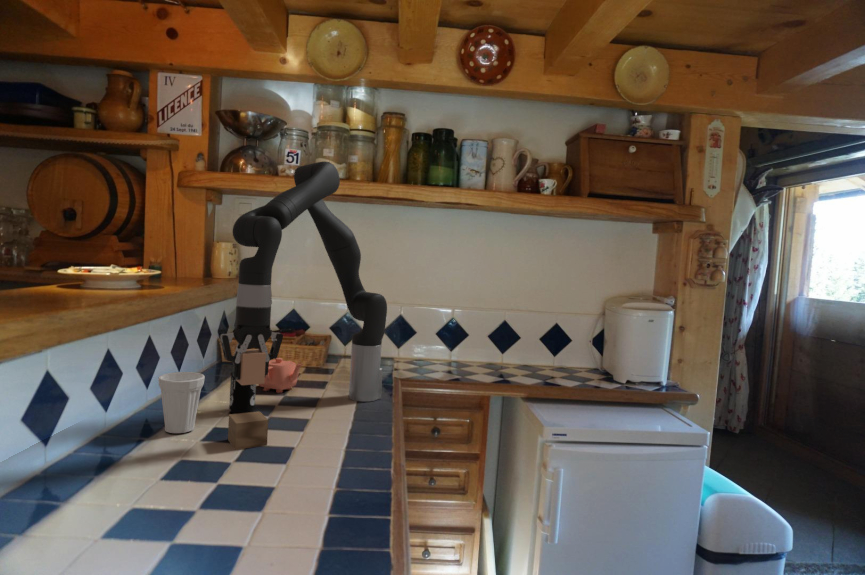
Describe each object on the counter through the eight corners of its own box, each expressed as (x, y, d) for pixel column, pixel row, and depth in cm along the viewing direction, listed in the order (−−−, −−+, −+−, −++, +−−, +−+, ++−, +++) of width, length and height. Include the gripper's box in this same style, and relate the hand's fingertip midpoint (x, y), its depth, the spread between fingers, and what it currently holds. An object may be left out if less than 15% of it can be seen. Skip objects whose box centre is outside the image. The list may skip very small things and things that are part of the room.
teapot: (254, 394, 159) (256, 362, 158) (252, 385, 170) (254, 354, 169) (302, 393, 164) (304, 361, 163) (297, 384, 175) (299, 354, 174)
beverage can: (246, 416, 138) (248, 371, 138) (224, 412, 139) (226, 368, 139) (259, 409, 145) (261, 366, 144) (237, 406, 146) (239, 364, 145)
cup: (193, 421, 131) (195, 370, 131) (209, 432, 124) (211, 378, 123) (150, 428, 124) (152, 374, 124) (164, 440, 117) (166, 383, 116)
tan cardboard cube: (258, 378, 122) (259, 349, 122) (264, 383, 118) (265, 353, 118) (236, 380, 119) (237, 350, 119) (241, 385, 115) (243, 354, 115)
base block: (258, 436, 124) (259, 411, 124) (266, 445, 119) (268, 419, 118) (227, 440, 120) (228, 414, 120) (235, 450, 115) (236, 423, 114)
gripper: (279, 302, 125) (276, 372, 126) (216, 302, 117) (213, 376, 118) (290, 306, 119) (286, 379, 120) (224, 305, 111) (220, 384, 112)
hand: (250, 377), depth 119 cm, fingers closed on tan cardboard cube, 5 cm apart
